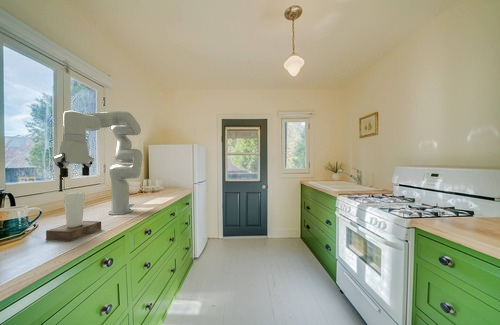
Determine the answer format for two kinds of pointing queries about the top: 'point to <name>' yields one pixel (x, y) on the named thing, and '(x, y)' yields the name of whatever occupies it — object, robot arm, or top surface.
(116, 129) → the robot arm
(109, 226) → the top surface
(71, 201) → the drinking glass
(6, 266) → the top surface
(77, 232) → the walnut block
